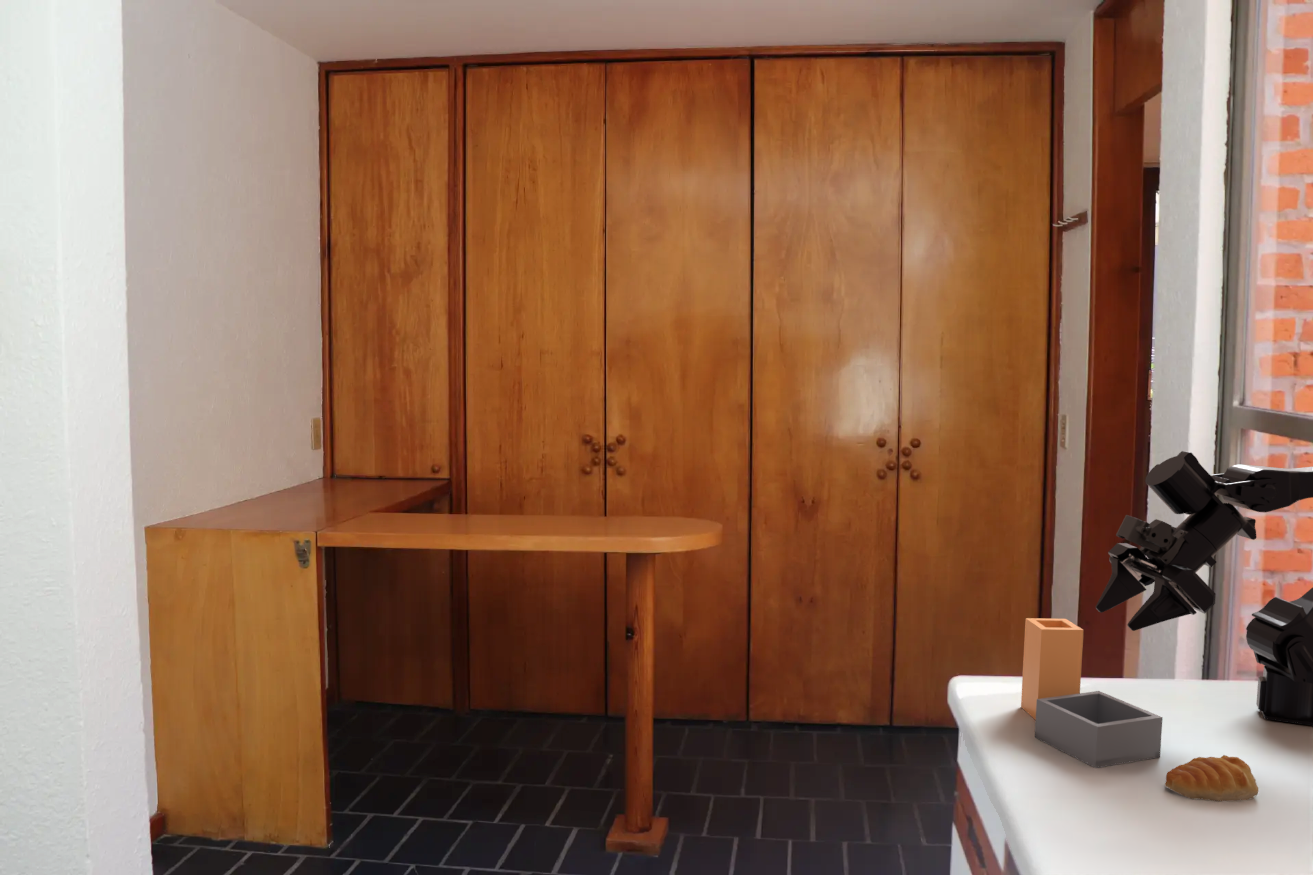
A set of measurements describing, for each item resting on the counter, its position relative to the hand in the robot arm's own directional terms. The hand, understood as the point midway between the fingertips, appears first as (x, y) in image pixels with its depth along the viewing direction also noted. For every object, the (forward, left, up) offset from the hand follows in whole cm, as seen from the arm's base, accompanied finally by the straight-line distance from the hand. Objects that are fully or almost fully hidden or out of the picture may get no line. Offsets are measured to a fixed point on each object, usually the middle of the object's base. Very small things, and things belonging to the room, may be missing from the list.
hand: (1113, 618), depth 140 cm
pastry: (-11, +21, -14) cm, 28 cm away
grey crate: (+1, +13, -13) cm, 19 cm away
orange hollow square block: (+7, +3, -13) cm, 16 cm away
